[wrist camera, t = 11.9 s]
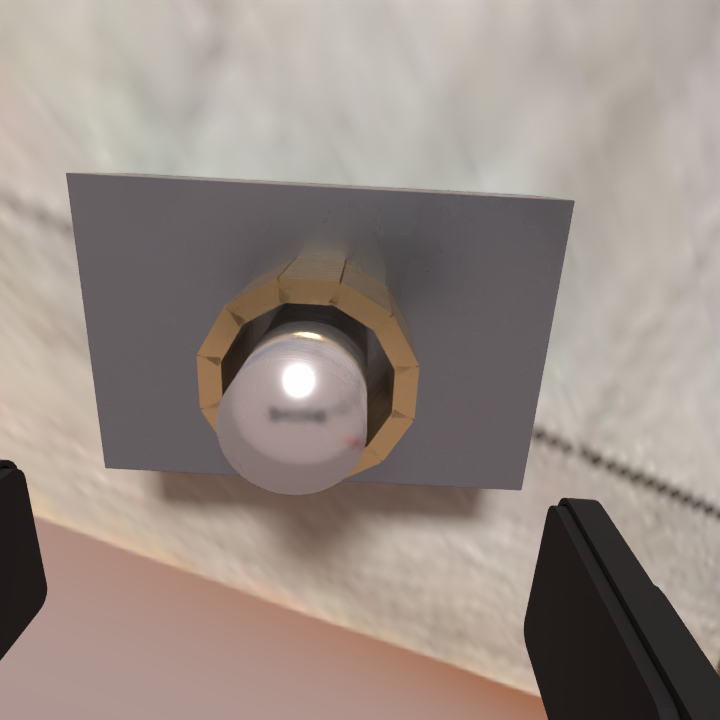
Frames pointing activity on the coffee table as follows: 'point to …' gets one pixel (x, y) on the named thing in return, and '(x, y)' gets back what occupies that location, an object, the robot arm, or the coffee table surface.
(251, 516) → the coffee table surface
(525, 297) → the grey peg board
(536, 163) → the coffee table surface
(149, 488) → the coffee table surface
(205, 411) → the bronze ring
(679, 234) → the coffee table surface
